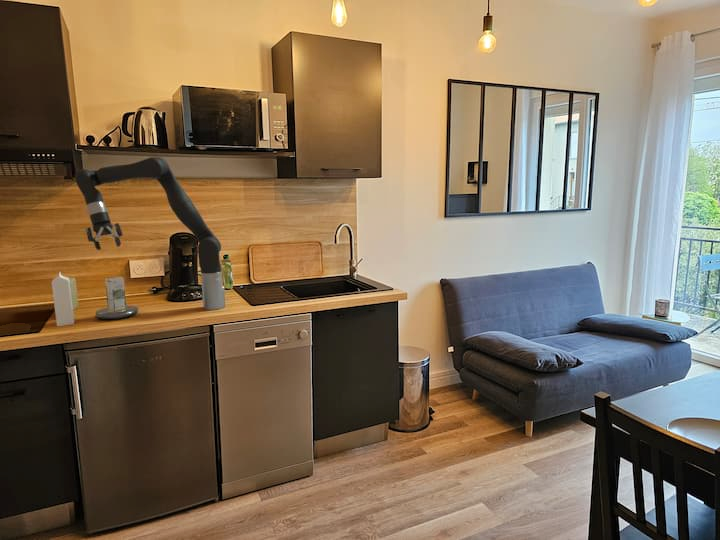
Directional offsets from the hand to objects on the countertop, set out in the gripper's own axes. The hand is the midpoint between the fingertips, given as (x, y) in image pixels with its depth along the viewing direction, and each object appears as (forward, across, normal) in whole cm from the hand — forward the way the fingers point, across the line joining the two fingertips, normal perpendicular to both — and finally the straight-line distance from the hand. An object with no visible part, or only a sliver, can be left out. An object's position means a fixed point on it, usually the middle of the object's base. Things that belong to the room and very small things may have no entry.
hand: (109, 248), depth 220 cm
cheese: (+23, -18, +23) cm, 37 cm away
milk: (+28, -25, +4) cm, 37 cm away
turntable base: (+30, -6, -1) cm, 31 cm away
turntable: (+29, -6, -1) cm, 30 cm away
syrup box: (+28, -5, -1) cm, 29 cm away
